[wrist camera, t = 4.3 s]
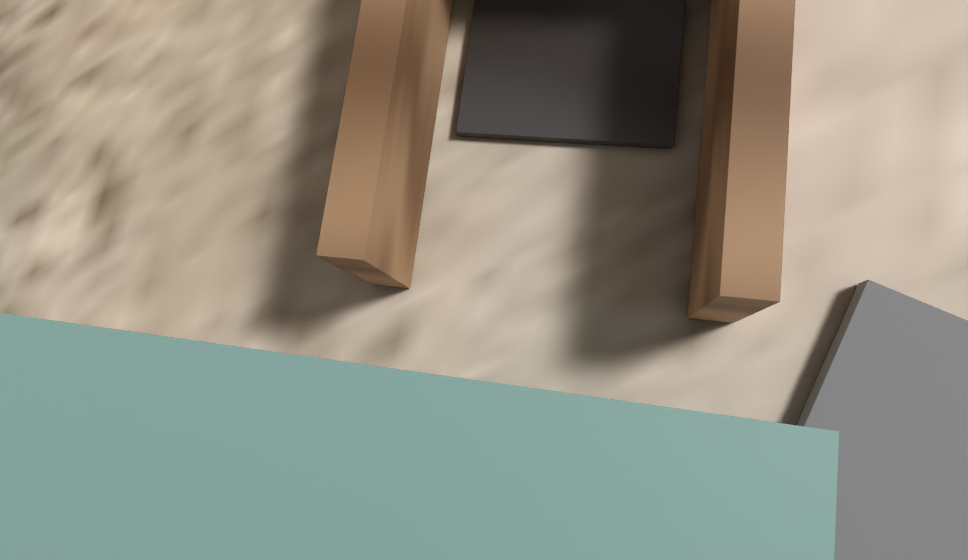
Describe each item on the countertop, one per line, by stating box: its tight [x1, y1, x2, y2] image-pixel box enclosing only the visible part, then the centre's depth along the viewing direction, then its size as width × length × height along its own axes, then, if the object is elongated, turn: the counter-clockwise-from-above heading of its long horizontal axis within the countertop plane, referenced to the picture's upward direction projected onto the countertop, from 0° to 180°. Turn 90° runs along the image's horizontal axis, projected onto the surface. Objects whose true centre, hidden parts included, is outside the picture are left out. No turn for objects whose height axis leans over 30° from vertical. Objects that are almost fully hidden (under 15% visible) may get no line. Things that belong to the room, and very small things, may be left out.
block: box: [0, 313, 839, 560], centre depth 9 cm, size 5×5×13 cm
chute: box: [316, 0, 795, 323], centre depth 16 cm, size 11×10×4 cm
